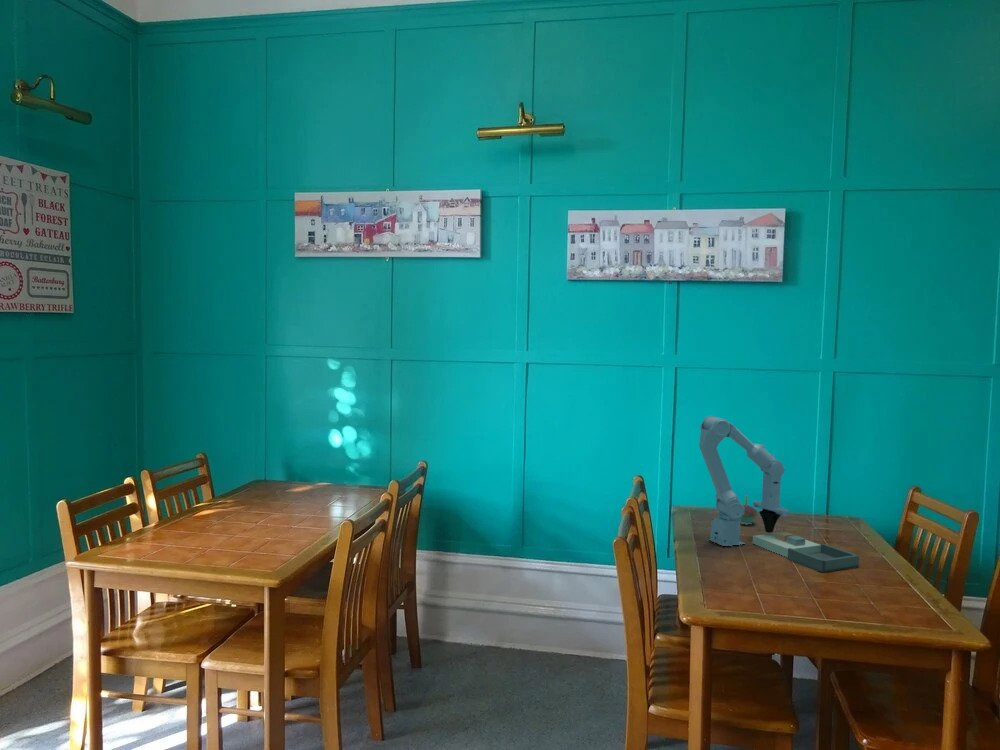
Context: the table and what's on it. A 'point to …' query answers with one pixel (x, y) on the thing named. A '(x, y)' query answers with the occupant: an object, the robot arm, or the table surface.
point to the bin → (825, 559)
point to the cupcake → (748, 513)
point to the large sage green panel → (784, 545)
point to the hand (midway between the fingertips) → (769, 532)
